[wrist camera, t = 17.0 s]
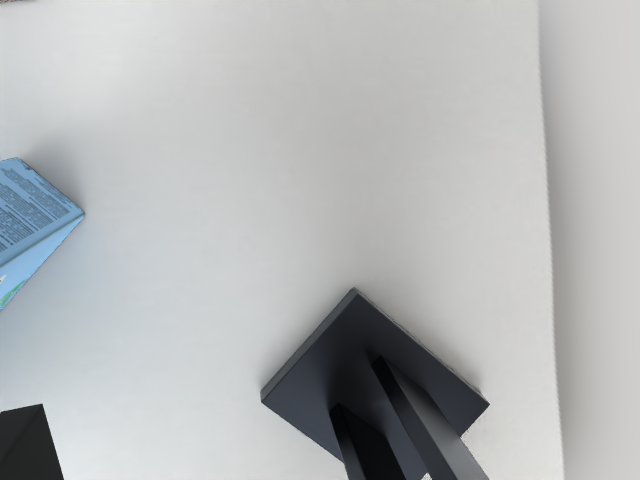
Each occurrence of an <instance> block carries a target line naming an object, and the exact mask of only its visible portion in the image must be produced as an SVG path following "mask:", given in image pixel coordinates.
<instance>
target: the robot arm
mask: <svg viewBox="0 0 640 480" xmlns="http://www.w3.org/2000/svg"><path fill="white" fill-rule="evenodd" d="M0 480H64V478H63V474H62V471H61V467H60V464H59V460H58V457H57V453H56V450H55V446H54V443H53V439H52V436H51V432H50V429H49V425H48V422H47V418H46V415H45V411H44V408H43V404H38V405H33V406H28V407H23V408H18V409H13V410H8V411H3V412H1V413H0Z"/></svg>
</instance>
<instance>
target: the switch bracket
mask: <svg viewBox="0 0 640 480" xmlns="http://www.w3.org/2000/svg"><path fill="white" fill-rule="evenodd" d="M260 393H261V402H262V403H263V404H264V405H265V406H267V407H268V408H270V409H271V410H272V411H274V412H275V413H276V414H278V415H279V416H280V417H282V418H283V419H285V420H286V421H287V422H289V423H290V424H291V425H293V426H294V427H295V428H297V429H298V430H300V431H301V432H302V433H304V434H305V435H306V436H308V437H309V438H310V439H312V440H313V441H315V442H316V443H317V444H319V445H320V446H321V447H323V448H324V449H325V450H327V451H328V452H330V453H331V454H332V455H334V456H335V457H336V458H338V459H339V460H340V461H342V462H343V463H344V465H345V469H346V472H347V475H348V478H349V480H421V479H422V478H423V477H424V475H425V474H426V473H427V472H428V473H429V475H430V477H431V478H432V480H489V478H488V477H487V475H486V474H485V473H484V471H483V470H482V468H481V467H480V465H479V464H478V463H477V461H476V460H475V458H474V457H473V455H472V454H471V453H470V451H469V450H468V448H467V447H466V445H465V444H464V443H463V441H462V440H461V438H460V437H461V436H462V434H463V433H464V432H465V431H466V430H467V429H468V428H469V427H470V426H471V425H472V424H473V423H474V422H475V420H476V419H477V418H478V417H479V416H480V415H481V414H482V413H483V412H484V411H485V410H486V409H487V408H488V406H489V405H490V404H489V403H488V401H487V400H486V399H485V398H484V397H483V396H482V395H481V394H480V393H479V392H478V391H477V390H475V389H474V388H473V387H472V386H471V385H469V384H468V383H467V382H466V381H465V380H464V379H462V378H461V377H460V376H459V375H458V374H456V373H455V372H454V371H453V370H452V369H450V368H449V367H448V366H447V365H446V364H445V363H443V362H442V361H441V360H440V359H439V358H437V357H436V356H435V355H434V354H433V353H431V352H430V351H429V350H428V349H427V348H426V347H424V346H423V345H422V344H421V343H420V342H418V341H417V340H416V339H415V338H414V337H413V336H411V335H410V334H409V333H408V332H407V331H405V330H404V329H403V328H402V327H401V326H399V325H398V324H397V323H396V322H395V321H394V320H392V319H391V318H390V317H389V316H388V315H386V314H385V313H384V312H383V311H382V310H380V309H379V308H378V307H377V306H376V305H375V304H373V303H372V302H371V301H370V300H369V299H367V298H366V297H365V296H364V295H363V294H361V293H360V292H359V291H358V290H357V289H356V288H353V289H352V290H351V291H350V292H349V293H348V294H347V295H346V296H345V298H344V299H343V300H342V301H341V302H340V303H339V304H338V305H337V307H336V308H335V309H334V310H333V311H332V312H331V313H330V314H329V316H328V317H327V318H326V319H325V320H324V321H323V322H322V323H321V325H320V326H319V327H318V328H317V329H316V330H315V331H314V332H313V334H312V335H311V336H310V337H309V338H308V339H307V340H306V341H305V342H304V344H303V345H302V346H301V347H300V348H299V349H298V350H297V351H296V353H295V354H294V355H293V356H292V357H291V358H290V359H289V360H288V362H287V363H286V364H285V365H284V366H283V367H282V368H281V369H280V371H279V372H278V373H277V374H276V375H275V376H274V377H273V378H272V380H271V381H270V382H269V383H268V384H267V385H266V386H265V387H264V389H263V390H262V391H261V392H260Z"/></svg>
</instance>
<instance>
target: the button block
mask: <svg viewBox="0 0 640 480" xmlns="http://www.w3.org/2000/svg"><path fill="white" fill-rule="evenodd" d="M11 1H21V0H0V3H1V2H11Z"/></svg>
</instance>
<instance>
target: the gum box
mask: <svg viewBox="0 0 640 480" xmlns="http://www.w3.org/2000/svg"><path fill="white" fill-rule="evenodd" d="M84 216H85V212H84V211H83V210H81V209H80V208H79V207H78V206H76V205H75V204H74V203H73V202H71V201H70V200H69V199H68V198H66V197H65V196H64V195H63V194H61V193H60V192H59V191H58V190H56V189H55V188H54V187H53V186H51V185H50V184H49V183H48V182H47V181H45V180H44V179H43V178H42V177H41V176H39V175H38V174H37V173H36V172H35V171H33V170H32V169H31V168H30V167H29V166H27V165H26V164H25V163H24V162H23V161H21V160H20V159H19V158H12V159H7V160H3V161H0V311H1V310H2V309H3V307H4V306H5V305H6V304H7V303H8V302H9V301H10V300H11V299H12V297H13V296H14V295H15V294H16V293H17V292H18V291H19V290H20V288H21V287H22V286H23V285H24V284H25V283H26V282H27V281H28V280H29V278H30V277H31V276H32V275H33V274H34V273H35V272H36V271H37V269H38V268H39V267H40V266H41V265H42V264H43V263H44V261H45V260H46V259H47V258H48V257H49V256H50V255H51V254H52V253H53V251H54V250H55V249H56V248H57V247H58V246H59V245H60V244H61V243H62V241H63V240H64V239H65V238H66V237H67V236H68V235H69V233H70V232H71V231H72V230H73V229H74V228H75V227H76V225H77V224H78V223H79V222H80V221H81V220H82V219H83V218H84Z"/></svg>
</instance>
